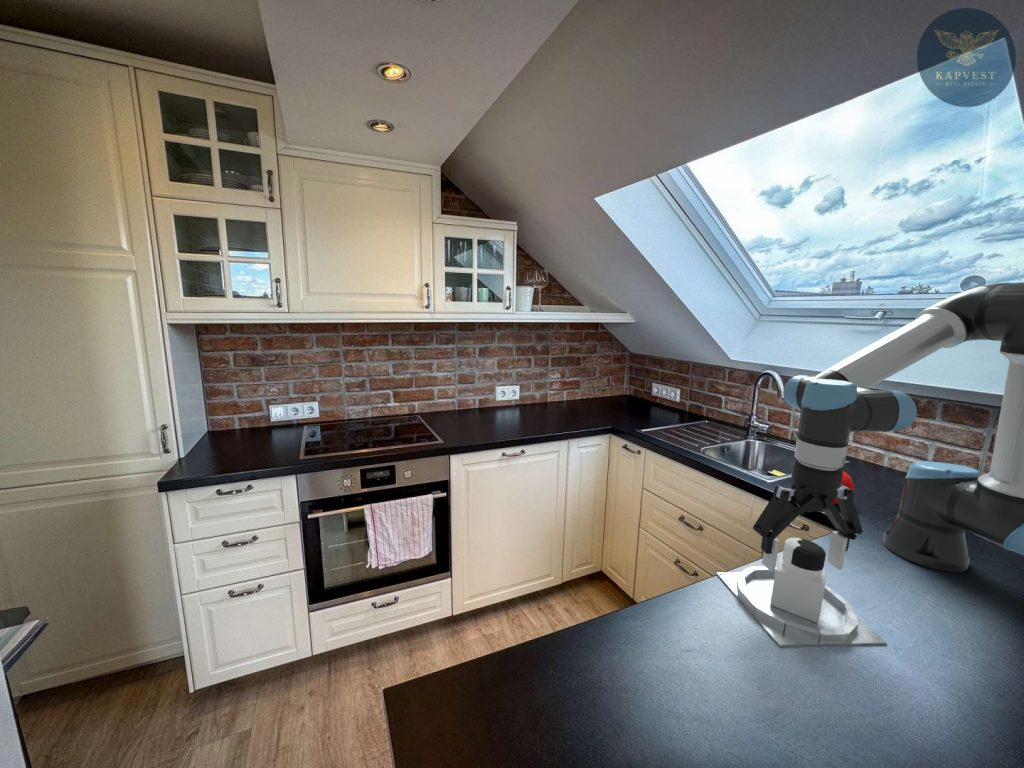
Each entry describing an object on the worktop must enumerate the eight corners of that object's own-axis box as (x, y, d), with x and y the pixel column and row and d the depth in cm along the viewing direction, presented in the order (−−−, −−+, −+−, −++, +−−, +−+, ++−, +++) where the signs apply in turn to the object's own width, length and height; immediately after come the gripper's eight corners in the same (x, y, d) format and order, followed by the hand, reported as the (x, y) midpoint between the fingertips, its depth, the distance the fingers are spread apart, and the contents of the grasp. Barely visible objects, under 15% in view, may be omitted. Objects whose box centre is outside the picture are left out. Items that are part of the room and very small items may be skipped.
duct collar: (802, 573, 94) (803, 565, 93) (886, 644, 74) (889, 634, 74) (716, 574, 92) (717, 565, 92) (779, 647, 73) (781, 637, 72)
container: (819, 602, 84) (831, 542, 81) (817, 624, 78) (830, 561, 75) (774, 585, 88) (784, 529, 86) (769, 605, 82) (779, 545, 80)
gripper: (863, 455, 82) (845, 553, 86) (741, 456, 80) (728, 556, 84) (900, 470, 75) (879, 576, 79) (767, 472, 73) (752, 580, 77)
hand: (801, 566), depth 82 cm, fingers open, 13 cm apart
